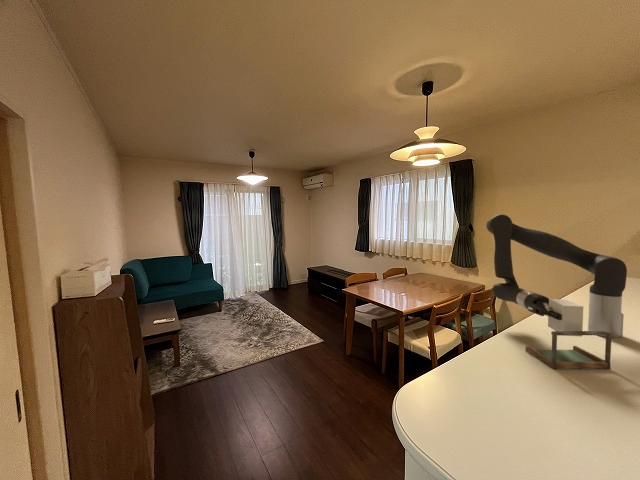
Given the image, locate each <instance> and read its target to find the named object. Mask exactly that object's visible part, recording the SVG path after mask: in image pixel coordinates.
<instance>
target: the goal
mask: <svg viewBox="0 0 640 480" xmlns="http://www.w3.org/2000/svg"><path fill="white" fill-rule="evenodd" d="M612 333H613V332H611V331H588V330H582V331H555V330H552V331H551V349H534V348H532V346H530V345H525V352H526V353H528V354H529V355H531V356H532V357H534V358H535V359H537V360H538V361H540V362H542V363H543V364H545V366H548V367H549V368H550V369H552V370H611V369H612V368H611V365H612V363H611V354H612V338H611V337H612ZM563 335H582V336H600V335H606V337H605V347H604V349H605V351H604V359H603V358H601V357H599V356H597V355H595V354H593V353H591V352H589V351H587V350H585V349H584V348H581V347H579V346H577V345H572V349H557V348H558V344H557V343H558V336H563Z"/></svg>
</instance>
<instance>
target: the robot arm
mask: <svg viewBox="0 0 640 480" xmlns="http://www.w3.org/2000/svg"><path fill="white" fill-rule="evenodd" d="M485 226H486V227H485V228H486V229H487V231H488V232H489V233H490V234H492V235H493V238H494V239H493V240H494V255H493V264H494V275H495V277H496V278H498V279H503V280H504V281H505V282H504V283H503V282H502V283H500V282H499V283H495V284H493V286H492V288H491V291H492V294H493V295H494V297H496V298H497V299H498V300H502V301H506V302H511V303H514V304H516V305H518V306H520V307H522V308H524V309H526V310H527V312H531V313H533V314H536V315H538V316H540V317H544V316H546V317H547V318H548V317H552V318H555V319H557V320H562V315H561V314H560V313H557V312H555V311H551V309H550V307H549V299H550V298H548V297H547V296H544V295H543V294H539V293H536V292H534V291H531V290H526V289H524V288H520V287H519V283H518V282H517V280H516V276H515V275H514V267H513V257H512V245H511V244H512V243H511V242H512V241H514V242H516V243H518V244H520V245H522V246H524V247H527V248H529V249H531V250H534V251H535V252H537V253H540V254H543V255H544V256H547V257H551V258H554V259H557V260H559V261H564V262H567V263H569V264H573V265H576V266H577V267H579V268H580V269H581V268H582V269H583V270H585V271H587V272H589V273H591V274H592V275H594V278H593V279H594V280H593V283H592V284H591V285H590V286H589V295H588V296H589V297H588V298H589V299H588V319H587V320H588V323H587V324H588V325H587V331H611V332H613V333H612V337H611V339H612V338H614V339H617V338H621V337H623V335H624V316H625V315H624V313H622V305H623V304H622V302H623V301H622V300H623V292H624V291H625V290H626V283H627V274H628V273H627V272H628V268H627V265H626V264H625V263H626V262H624V261H623V260H622V259H620V258H617V257H614V256H608V255H604V254H599V253H596V252H593V251H589V250H586V249H583V248H581V247H579V246H577V245H576V244H574V243H572V242H570V241H568V240H566V239H564V238H562V237H559V236H557V235H554V234H552V233H548V232H545V231H541V230H538V229H537V230H536V229H532V228H527V227H523V226H520V225H518V224H515V223H513V221H512V219H511V217H509V216H508V215H507V214H501V213H500V214H497V215H493V216H492V217H491V218H489V219H488V221H487V222H486V225H485ZM599 336H601V337H605V338H606V335H599Z"/></svg>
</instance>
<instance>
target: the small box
mask: <svg viewBox="0 0 640 480" xmlns="http://www.w3.org/2000/svg"><path fill="white" fill-rule="evenodd" d="M549 307H550V309H551V311H555V312H557V313H560V314H561V315H562V320H557V319H555V318H552V317H548V316H547V318H548V319H547V327H548V328H550V329H552V331H583V324H584V306H583V305H581V304H578V303H575V302H573V301H571V300H567V299H559V298H557V299H556V298H549ZM562 336H565V337H583V335H562Z"/></svg>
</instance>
